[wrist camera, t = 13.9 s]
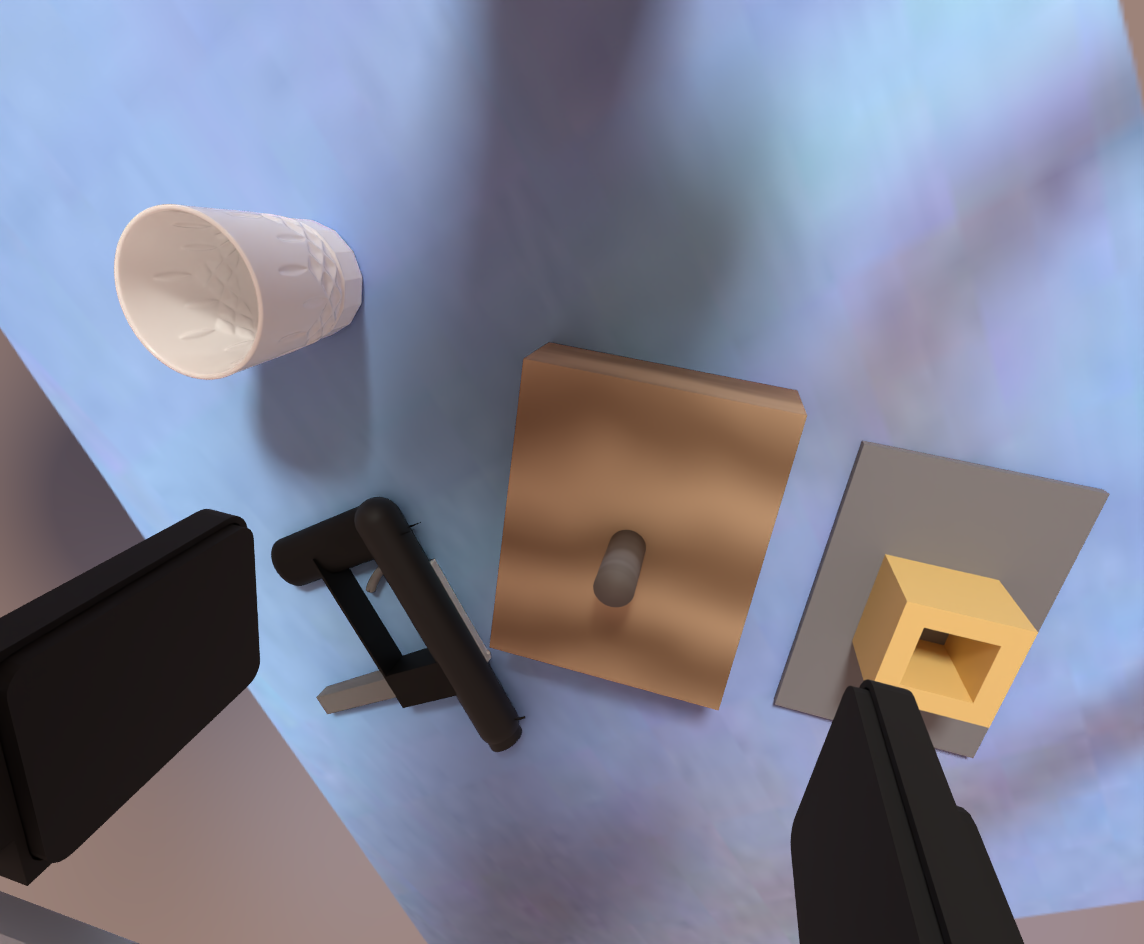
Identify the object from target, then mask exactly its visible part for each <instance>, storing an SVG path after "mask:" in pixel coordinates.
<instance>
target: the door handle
mask: <svg viewBox="0 0 1144 944" xmlns="http://www.w3.org/2000/svg"><path fill="white" fill-rule="evenodd" d="M420 523H421V522H420ZM417 524H419V523H417ZM414 525H416V524H413V525H410V526H409V525H408V524H407V522H406V520H405V519H404V517H403V515H402V513H401V512H400V510H399V508H398V507H397V505H396V504H395V503H394V502H392V501H391V500H389V499H386V498H383V497H374V498H370V499H368V500H366V501H365V502H363V503H362V504H361V505H360V506H358V507H356V508H353V509H351V510H349V511H346V512H344V513H341V514H339V515H337V516H334V517H332V518H329V519H327V520H325V521H322V522H320V523H318V524H315V525H313V526H310V527H308V528H306V529H303V530H301V531H299V532H296V533H294V534H291V535H289V536H287V537H284V538H282V539H279V540H278V541H276V542H275V544H274V545H273V547H272V551H271V558H272V562H273V565H274V568H275V569H276V571H277V573H278V574H279V575H280V576H281V577H282V578H283V579H284V580H285V581H286V582H288V583H290V584H292V585H296V586H302V585H305V584H308V583H311V582H313V581H316V580H319V579H323V581H324V582H325V584H326V586H327V587H328V589H329V590H330V592H331V594H332V595H333V597H334V598H335V600H336V602H337V603H338V605H339V606H340V608H341V610H342V611H343V613H344V614H345V616H346V618H347V619H348V621H349V622H350V624H351V626H352V627H353V629H354V630H355V632H356V634H357V635H358V637H359V638H360V640H361V642H362V643H363V645H364V646H365V648H366V649H367V651H368V653H369V654H370V656H371V657H372V659H373V661H374V662H375V664H376V665H377V667H378V669H379V670H378V671H375V672H372V673H369V674H366V675H362V676H359V677H356V678H353V679H350V680H346V681H343V682H340V683H337V684H334V685H330V686H327V687H326V688H325V689H324V690H323V691H322V692H321V693H320V694H319V695H318V696H317V697H316V698H317V699H318V701H319V702H320V704H321V705H322V707H323V708H324V710H325V711H326V713H327V714H331V713H335V712H339V711H343V710H347V709H351V708H355V707H359V706H363V705H367V704H371V703H375V702H379V701H383V700H387V699H391V698H395V697H396V698H397V699H398V701H399V702H400V704H401V706H402V707H403V708H405V707H410V706H414V705H418V704H422V703H426V702H431V701H435V700H439V699H443V698H447V697H452V696H457V698H458V700H459V701H460V703H461V705H462V706H463V708H464V710H465V711H466V713H467V715H468V716H469V718H470V720H471V721H472V723H473V725H474V726H475V728H476V730H477V731H478V733H479V735H480V736H481V738H482V739H483V740H484V741H485V742H487V743H488V744H489V746H490V748H491V749H492V750H493V751H494V752H501V751H504V750H506V749H508V748H510V747H511V746H513V745H514V744H515V743H516V742H517V741H518V739H519V738H520V736H521V734H522V729H521V727H520V725H519V724H518V723H519V721H518V720H521V719H523V718H525V716H523V717H518V715H517V713H516V711H515V709H514V707H513V706H512V704H511V702H510V700H509V699H508V697H507V695H506V693H505V692H504V690H503V688H502V687H501V685H500V683H499V681H498V680H497V678H496V676H495V674H494V673H493V671H492V669H491V667H490V666H489V664H488V662H489V660H490V658H491V656H490V654H491V653H490V651H489V650H488V649H486V647H485V645H484V644H483V642H482V640H481V638H480V637H479V635H478V633H477V631H476V630H475V628H474V626H473V624H472V623H471V621H470V619H469V617H468V616H467V614H466V612H465V611H464V609H463V607H462V605H461V604H460V602H459V600H458V598H457V597H456V595H455V593H454V591H453V590H452V588H451V586H450V585H449V583H448V581H447V579H446V578H445V576H444V574H443V572H442V571H441V569H440V567H439V565H438V564H437V562H436V560H435V559H432V560H430V561H429V560H428V558H427V557H426V555H425V553H424V551H423V550H422V548H421V546H420V545H419V543H418V541H417V539H416V538H415V536H414V534H413V532H412V530H411V529H410V527H412V526H414ZM414 530H415V529H414ZM373 559H374V560H375V561H376V563H377V565H378V567H377V569H376V570H375V571H374V572H373V574H372V575H371V577H370V579H369V582H368V584H367V587H366V591H367V592H370V593H373V592H375V591H376V587H377V585H378V582H379V580H380V578H381V577H382V575H384V576H385V578H386V580H387V581H388V583H389V585H390V586H391V588H392V590H393V591H394V593H395V595H396V596H397V598H398V600H399V601H400V603H401V605H402V606H403V608H404V610H405V611H406V613H407V615H408V616H409V618H410V620H411V621H412V623H413V625H414V626H415V628H416V630H417V631H418V633H419V635H420V636H421V638H422V640H423V641H424V643H425V645H426V646H427V648H425V649H422V650H419V651H416V652H413V653H410V654H407V655H403V656H402V654H401V652H400V651H399V649H398V647H397V646H396V644H395V642H394V641H393V639H392V638H391V636H390V634H389V633H388V631H387V629H386V628H385V626H384V624H383V623H382V621H381V620H380V618H379V616H378V615H377V613H376V611H375V610H374V608H373V607H372V605H371V603H370V602H369V600H368V598H367V597H366V595H365V593H364V592H363V590H362V589H361V587H360V585H359V584H358V582H357V580H356V579H355V577H354V575H353V574H352V572H351V571H350V569H349V568H351V567H354V566H357V565H359V564H362V563H365V562H368V561H370V560H373Z"/></svg>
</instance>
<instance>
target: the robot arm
mask: <svg viewBox="0 0 1144 944" xmlns="http://www.w3.org/2000/svg"><path fill="white" fill-rule="evenodd" d="M259 665H260V651H259V632H258V612H257V593H256V574H255V555H254V538H253V533H252V532H251V530H250V529H248V528H247V525H246V523H245V521H244V519H242V518H241V517H238V516H235V515H231V514H227V513H223V512H219V511H215V510H211V509H203V510H200V511H198V512H196V513H194V514H192V515H190V516H189V517H187V518H185V519H183V520H181V521H179V522H177V523H176V524H174V525H172V526H170V527H168V528H166V529H164V530H163V531H161V532H159V533H157V534H155V535H153V536H151V537H150V538H148V539H146V540H144V541H142V542H141V543H138V544H137V545H135V546H133V547H131V548H129V549H128V550H125V551H124V552H122V553H120V554H118V555H116V556H114V557H112V558H111V559H109V560H107V561H105V562H103V563H101V564H99V565H98V566H96V567H94V568H92V569H90V570H88V571H86V572H85V573H83V574H81V575H79V576H77V577H75V578H73V579H72V580H70V581H68V582H66V583H64V584H62V585H60V586H59V587H57V588H55V589H53V590H52V591H49V592H47V593H46V594H44V595H42V596H40V597H38V598H36V599H34V600H33V601H31V602H29V603H27V604H25V605H23V606H22V607H20V608H18V609H16V610H14V611H12V612H10V613H8V614H7V615H5V616H3V617H1V618H0V876H3V877H6V878H8V879H10V880H13V881H16V882H18V883H21V884H24V885H26V886H28V885H29V884H30V883H31V882H32V881H33V880H34V879H35V878H37V877H38V876H39V875H40V874H41V873H42V872H43V871H44V870H45V869H46V868H47V867H48V866H49V865H50V864H52V863H56V862H60V861H62V860H64V859H65V858H67V857H68V856H69V855H71V854H72V853H73V852H74V851H75V850H76V849H78V847H80V846H81V845H82V844H83V843H84V842H85V841H86V840H87V839H88V838H89V837H90V836H91V835H92V834H93V833H94V832H95V831H96V830H97V829H98V828H100V826H102V825H103V824H104V823H105V822H106V821H107V820H108V819H109V818H110V817H111V816H112V815H113V814H114V813H115V812H116V811H117V810H118V809H119V808H120V807H121V806H123V805H124V804H125V803H126V802H127V801H128V800H129V799H130V798H131V797H132V796H133V795H134V794H135V793H136V792H137V791H138V790H139V789H140V788H141V787H142V786H144V785H145V784H146V783H147V782H148V781H149V780H150V779H151V778H152V777H153V776H154V775H155V774H156V773H157V772H158V771H159V770H160V769H161V768H162V767H163V766H164V765H166V763H167V762H169V761H170V760H171V759H172V758H173V757H174V756H175V755H176V754H177V753H178V752H179V751H180V750H181V749H182V748H183V747H184V746H185V745H186V744H187V743H188V742H190V741H191V740H192V739H193V738H194V737H195V736H196V735H197V734H198V733H199V732H200V731H201V730H202V729H203V728H204V727H205V726H206V725H207V724H209V723H210V721H212V720H213V718H215V717H216V716H217V715H218V714H219V713H220V712H221V711H222V710H223V709H224V708H225V707H226V706H227V705H228V704H229V703H230V702H232V701H233V700H234V699H235V698H236V697H237V696H238V695H239V694H240V693H241V692H242V691H243V690H244V689H245V688H246V687H247V686H248V685H249V684H250V683H251V682H252V681H253V679H254V678H255V676H256V674H257V672H258V669H259ZM791 856H792V866H793V877H794V888H795V898H796V909H797V919H798V930H799V941H800V944H1024V942H1023V939H1022V937H1021V935H1020V932H1019V930H1018V927H1017V925H1016V922H1015V920H1014V917H1013V915H1012V912H1011V910H1010V907H1009V905H1008V903H1007V900H1006V898H1005V895H1004V893H1003V890H1002V888H1001V885H1000V883H999V880H998V878H997V875H996V873H995V871H994V868H993V866H992V863H991V861H990V858H989V856H988V853H987V851H986V848H985V846H984V843H983V841H982V838H981V836H980V834H979V831H978V829H977V826H976V824H975V822H974V821H973V819H972V817H971V815H970V814H969V813H968V812H967V811H966V810H965V809H964V808H962V807H959V806H956V803H955V801H954V798H953V796H952V793H951V790H950V788H949V785H948V783H947V780H946V777H945V775H944V772H943V770H942V767H941V765H940V762H939V759H938V757H937V754H936V752H935V749H934V746H933V744H932V741H931V739H930V736H929V733H928V731H927V728H926V726H925V723H924V720H923V718H922V715H921V713H920V710H919V708H918V705H917V702H916V700H915V697H914V695H913V694H912V692H911V691H909V690H908V689H904V688H900V687H896V686H892V685H888V684H884V683H881V682H877V681H873V680H869V679H867V680H864V681H863V682H862V683H861V685H860V687H859V688H858V687H854V686H848V687H847V688H846V690H845V692H844V694H843V696H842V699H841V701H840V704H839V706H838V709H837V711H836V714H835V717H834V719H833V722H832V724H831V727H830V729H829V732H828V734H827V737H826V740H825V742H824V745H823V747H822V750H821V752H820V755H819V757H818V760H817V762H816V765H815V768H814V770H813V773H812V775H811V778H810V780H809V783H808V785H807V788H806V791H805V793H804V796H803V798H802V801H801V803H800V806H799V808H798V811H797V813H796V816H795V819H794V822H793V826H792V832H791ZM0 944H139V943H136V942H134V941H131V940H128V939H126V938H123V937H120V936H118V935H115V934H112V933H110V932H107V931H105V930H102V929H99V928H97V927H94V926H91V925H89V924H86V923H83V922H81V921H78V920H75V919H72V918H70V917H67V916H65V915H62V914H59V913H57V912H54V911H51V910H49V909H46V908H44V907H41V906H38V905H36V904H33V903H30V902H28V901H25V900H22V899H20V898H17V897H14V896H11V895H9V894H6V893H4V892H1V891H0Z"/></svg>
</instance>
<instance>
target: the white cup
mask: <svg viewBox="0 0 1144 944" xmlns="http://www.w3.org/2000/svg"><path fill="white" fill-rule="evenodd" d="M114 276H115V285H116V290H117V295H118V299H119V302H120V305H121V308H122V310H123V313H124V315H125V317H126V319H127V321H128V323H129V325H130V327H131V328H132V330H133V332H134V333H135V335H136V336H137V337H138V339H139V340H140V341H141V343H142V344H143V345H144V346H145V347H146V349H147V350H148V351H149V352H150V353H151V354H152V355H153V356H155V357H156V358H157V359H158V360H159V361H161V362H162V363H163V364H165V365H166V366H168V367H169V368H171V369H173V370H174V371H176V372H178V373H181V374H183V375H186V376H189V377H192V378H197V379H206V380H211V379H220V378H224V377H227V376H229V375H232V374H235V373H237V372H240V371H243V370H245V369H248V368H251V367H254V366H256V365H259V364H262V363H264V362H267V361H270V360H273V359H275V358H278V357H281V356H284V355H286V354H289V353H291V352H294V351H296V350H298V349H300V348H303V347H306V346H308V345H310V344H313V343H315V342H317V341H319V340H320V339H322V338H325V337H328V336H331V335H333V334H335V333H336V332H338V331H339V330H341V329H343V328H344V327H346V326H348V325H349V324H350V323H351V322H352V320H353V318H354V316H355V314H356V312H357V311H358V309H359V307H360V305H361V301H362V279H363V278H362V275H361V272H360V269H359V266H358V263H357V261H356V258H355V255H354V252H353V251H352V250H351V248H350V247H349V246H348V245H347V244H346V243H345V241H344V240H343V239H342V238H341V237H340V236H339V234H338V233H337V232H336V231H334V230H332V229H330V228H328V227H326V226H324V225H322V224H320V223H318V222H316V221H314V220H308V219H294V218H287V217H283V216H279V215H273V214H265V213H257V212H250V211H239V210H228V209H217V208H206V207H196V206H186V205H176V204H163V205H157V206H153V207H150V208H148V209H146V210H144V211H142V212H141V213H139V214H138V215H136V216H135V217H134V218H133V219H132V220H131V221H130V222H129V223H128V225H127V226H126V228H125V229H124V231H123V233H122V235H121V237H120V239H119V242H118V245H117V249H116V254H115V261H114Z"/></svg>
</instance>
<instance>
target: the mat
mask: <svg viewBox="0 0 1144 944" xmlns="http://www.w3.org/2000/svg"><path fill="white" fill-rule="evenodd" d="M1108 496H1109V493H1107V492H1106V491H1104V490H1102V489H1097V488H1093V487H1088V486H1083V485H1078V484H1073V483H1068V482H1063V481H1058V480H1053V479H1048V478H1043V477H1038V476H1034V475H1029V474H1024V473H1019V472H1014V471H1009V470H1004V469H999V468H994V467H989V466H984V465H980V464H975V463H970V462H965V461H960V460H955V459H950V458H945V457H940V456H935V455H930V454H926V453H921V452H916V451H911V450H906V449H901V448H896V447H891V446H886V445H881V444H876V443H871V442H867V441H862V442H861V445H860V448H859V451H858V454H857V457H856V460H855V463H854V466H853V469H852V472H851V475H850V478H849V480H848V483H847V486H846V489H845V492H844V495H843V498H842V501H841V504H840V507H839V510H838V513H837V516H836V519H835V522H834V525H833V527H832V530H831V533H830V536H829V539H828V542H827V545H826V548H825V551H824V554H823V557H822V560H821V563H820V566H819V569H818V571H817V574H816V577H815V580H814V583H813V586H812V589H811V592H810V595H809V598H808V601H807V604H806V607H805V610H804V613H803V616H802V618H801V621H800V624H799V627H798V630H797V633H796V636H795V639H794V642H793V645H792V648H791V651H790V654H789V657H788V660H787V663H786V665H785V668H784V671H783V674H782V677H781V680H780V683H779V686H778V689H777V692H776V695H775V698H774V701H775V705H778V706H782V707H786V708H789V709H793V710H797V711H800V712H804V713H808V714H812V715H815V716H819V717H823V718H826V719H830V720H833V719H834V717H835V714H836V711H837V709H838V706H839V704H840V701H841V699H842V696H843V694H844V692H845V690H846V688H847V687H848V686H854V687H858V688H859V687H860V685H861V683H862V682H863V681H864V680H863V677H862V673H861V670H860V666H859V663H858V659H857V656H856V652H855V649H854V646H853V642H852V640H853V637H854V634H855V632H856V629H857V627H858V624H859V621H860V619H861V616H862V614H863V611H864V608H865V606H866V603H867V601H868V598H869V595H870V593H871V590H872V587H873V585H874V582H875V580H876V577H877V574H878V572H879V569H880V567H881V564H882V561H883V559H884V556H885V554H887V555H891V556H895V557H900V558H904V559H908V560H913V561H917V562H922V563H926V564H930V565H935V566H939V567H944V568H948V569H952V570H957V571H961V572H965V573H970V574H974V575H979V576H983V577H987V578H992V579H996V580H999V581H1000V582H1001V584H1002V585H1003V586H1004V588H1005V589H1006V590H1007V592H1008V593H1009V594H1010V596H1011V597H1012V598H1013V600H1014V601H1015V602H1016V604H1017V605H1018V606H1019V608H1020V609H1021V610H1022V612H1023V613H1024V614H1025V616H1026V617H1027V618H1028V620H1029V621H1030V622H1031V624H1032V625H1033V626H1034V628H1035V629H1036V630H1037V632H1039V630H1040V628H1041V626H1042V624H1043V622H1044V620H1045V618H1046V616H1047V614H1048V612H1049V610H1050V608H1051V607H1052V605H1053V603H1054V601H1055V599H1056V597H1057V595H1058V593H1059V591H1060V589H1061V587H1062V585H1063V583H1064V581H1065V579H1066V577H1067V576H1068V574H1069V572H1070V570H1071V568H1072V566H1073V564H1074V562H1075V560H1076V558H1077V556H1078V554H1079V552H1080V550H1081V548H1082V547H1083V545H1084V543H1085V541H1086V539H1087V537H1088V535H1089V533H1090V531H1091V529H1092V527H1093V525H1094V523H1095V521H1096V519H1097V517H1098V516H1099V514H1100V512H1101V510H1102V508H1103V506H1104V504H1105V502H1106V500H1107V498H1108ZM948 635H949V633H945V632H940V631H936V630H932V629H928V628H924V629H923V631H922V633H921V636H920V638H919V639H920V640H925V641H929V642H933V643H937V644H941V645H944V644H945V642H946V640H947V637H948ZM920 713H921V715H922V718H923V720H924V723H925V726H926V728H927V731H928V733H929V736H930V739H931V741H932V744H933V746H934V748H937V749H941V750H945V751H948V752H952V753H956V754H960V755H963V756H967V757H971V758H974V756H975V754H976V752H977V750H978V748H979V746H980V744H981V742H982V740H983V738H984V736H985V734H986V732H987V730H988V727H984V726H980V725H976V724H972V723H969V722H965V721H961V720H957V719H953V718H949V717H946V716H942V715H938V714H934V713H930V712H927V711H923V710H920Z"/></svg>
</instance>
